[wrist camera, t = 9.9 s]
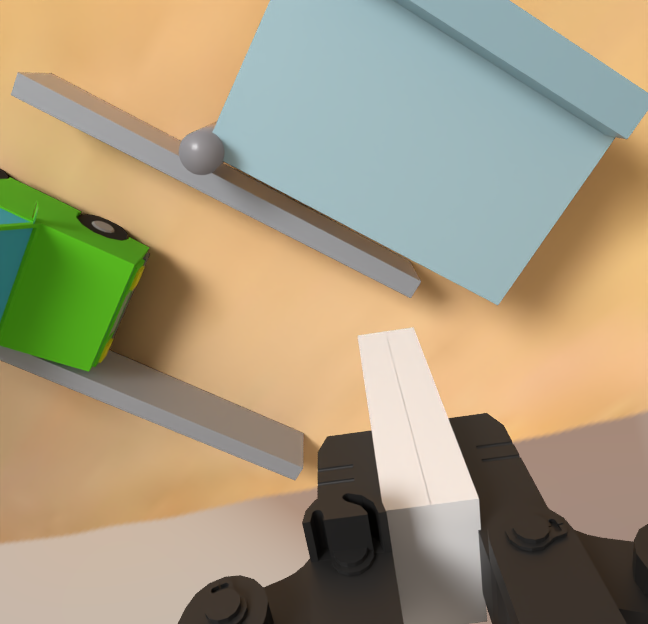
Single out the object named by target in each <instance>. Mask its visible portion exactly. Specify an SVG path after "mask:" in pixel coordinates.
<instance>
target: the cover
mask: <svg viewBox="0 0 648 624" xmlns="http://www.w3.org/2000/svg"><path fill="white" fill-rule="evenodd" d="M647 111H648V93H647V92H646V91H644V90H643V89H641V88H640V87H638V86H637V85H635V84H634V83H632V82H631V81H629V80H628V79H626V78H625V77H623V76H622V75H620V74H619V73H617V72H616V71H614V70H613V69H611V68H610V67H608V66H607V65H605V64H604V63H602V62H601V61H599V60H598V59H596V58H595V57H593V56H592V55H590V54H589V53H587V52H586V51H584V50H583V49H581V48H580V47H578V46H577V45H575V44H574V43H572V42H571V41H569V40H568V39H566V38H565V37H563V36H562V35H560V34H559V33H557V32H556V31H554V30H553V29H551V28H550V27H548V26H547V25H545V24H544V23H542V22H541V21H539V20H538V19H536V18H535V17H533V16H532V15H530V14H529V13H527V12H526V11H524V10H523V9H521V8H520V7H518V6H517V5H515V4H514V3H512V2H511V1H509V0H270V2H269V4H268V7H267V9H266V11H265V13H264V16H263V18H262V20H261V23H260V25H259V27H258V29H257V32H256V34H255V36H254V39H253V41H252V43H251V45H250V48H249V50H248V52H247V54H246V57H245V59H244V61H243V64H242V66H241V68H240V70H239V73H238V75H237V77H236V80H235V82H234V84H233V86H232V89H231V91H230V93H229V96H228V98H227V100H226V102H225V105H224V107H223V109H222V111H221V114H220V116H219V118H218V121H217V122H215V123H212V124H210V125H208V126H206V127H203V128H201V129H199V130H197V131H194V132H192V133H190V134H188V135H187V136H185V137H184V138H183V140H182V141H181V143H180V146H179V157H180V160H181V163H182V164H183V166H184V167H185V168H186V169H187V170H188V171H190V172H191V173H193V174H196V175H207V174H210V173H212V172H213V171H215V170H216V169H217V168H218V167H219V166H220V165H221V164H222V163H223V162H226V163H228V164H230V165H232V166H233V167H235V168H237V169H239V170H241V171H243V172H245V173H247V174H249V175H251V176H253V177H254V178H256V179H258V180H260V181H262V182H264V183H266V184H268V185H270V186H272V187H273V188H275V189H277V190H279V191H281V192H283V193H285V194H287V195H289V196H291V197H292V198H294V199H296V200H298V201H300V202H302V203H304V204H306V205H308V206H310V207H312V208H313V209H315V210H317V211H319V212H321V213H323V214H325V215H327V216H329V217H331V218H332V219H334V220H336V221H338V222H340V223H342V224H344V225H346V226H348V227H350V228H352V229H353V230H355V231H357V232H359V233H361V234H363V235H365V236H367V237H369V238H371V239H372V240H374V241H376V242H378V243H380V244H382V245H384V246H386V247H388V248H390V249H392V250H393V251H395V252H397V253H399V254H401V255H403V256H405V257H407V258H409V259H411V260H412V261H414V262H416V263H418V264H420V265H422V266H424V267H426V268H428V269H430V270H432V271H433V272H435V273H437V274H439V275H441V276H443V277H445V278H447V279H449V280H451V281H452V282H454V283H456V284H458V285H460V286H462V287H464V288H466V289H468V290H470V291H472V292H473V293H475V294H477V295H479V296H481V297H483V298H485V299H487V300H489V301H491V302H492V303H494V304H496V305H499V303H500V302H501V300H502V299H503V297H504V296H505V295H506V293H507V292H508V290H509V289H510V287H511V286H512V285H513V283H514V282H515V280H516V279H517V277H518V276H519V275H520V273H521V272H522V270H523V269H524V267H525V266H526V265H527V263H528V262H529V260H530V259H531V257H532V256H533V255H534V253H535V252H536V250H537V249H538V247H539V246H540V245H541V243H542V242H543V240H544V239H545V237H546V236H547V235H548V233H549V232H550V230H551V229H552V227H553V226H554V225H555V223H556V222H557V220H558V219H559V217H560V216H561V215H562V213H563V212H564V210H565V209H566V207H567V206H568V205H569V203H570V202H571V200H572V199H573V197H574V196H575V195H576V193H577V192H578V190H579V189H580V187H581V186H582V185H583V183H584V182H585V180H586V179H587V177H588V176H589V175H590V173H591V172H592V170H593V169H594V167H595V166H596V165H597V163H598V162H599V160H600V159H601V157H602V156H603V155H604V153H605V152H606V150H607V149H608V147H609V146H610V145H611V143H612V142H613V140H614V139H615V137H617V138H623V139H628V138H629V136H630V135H631V133H632V132H633V130H634V129H635V128H636V126H637V125H638V123H639V122H640V121H641V119H642V118H643V116H644V115H645V114H646V112H647Z"/></svg>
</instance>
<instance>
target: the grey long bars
mask: <svg viewBox="0 0 648 624" xmlns="http://www.w3.org/2000/svg"><path fill="white" fill-rule="evenodd" d="M11 95H12V96H14V97H16V98H18V99H20V100H22V101H24V102H26V103H28V104H29V105H31V106H33V107H35V108H37V109H39V110H41V111H43V112H45V113H47V114H49V115H51V116H53V117H55V118H57V119H59V120H61V121H63V122H65V123H67V124H69V125H71V126H73V127H75V128H77V129H79V130H81V131H83V132H85V133H87V134H89V135H90V136H92V137H94V138H96V139H98V140H100V141H102V142H104V143H106V144H108V145H110V146H112V147H114V148H116V149H118V150H120V151H122V152H124V153H126V154H128V155H130V156H132V157H134V158H136V159H138V160H140V161H142V162H144V163H146V164H148V165H150V166H151V167H153V168H155V169H157V170H159V171H161V172H163V173H165V174H167V175H169V176H171V177H173V178H175V179H177V180H179V181H181V182H183V183H185V184H187V185H189V186H191V187H193V188H195V189H197V190H199V191H201V192H203V193H205V194H207V195H209V196H211V197H213V198H214V199H216V200H218V201H220V202H222V203H224V204H226V205H228V206H230V207H232V208H234V209H236V210H238V211H240V212H242V213H244V214H246V215H248V216H250V217H252V218H254V219H256V220H258V221H260V222H262V223H264V224H266V225H268V226H270V227H272V228H274V229H275V230H277V231H279V232H281V233H283V234H285V235H287V236H289V237H291V238H293V239H295V240H297V241H299V242H301V243H303V244H305V245H307V246H309V247H311V248H313V249H315V250H317V251H319V252H321V253H323V254H325V255H327V256H329V257H331V258H333V259H335V260H336V261H338V262H340V263H342V264H344V265H346V266H348V267H350V268H352V269H354V270H356V271H358V272H360V273H362V274H364V275H366V276H368V277H370V278H372V279H374V280H376V281H378V282H380V283H382V284H384V285H386V286H388V287H390V288H392V289H394V290H396V291H397V292H399V293H401V294H403V295H405V296H407V297H409V298H411V297H412V295H413V294H414V292H415V291H416V289H417V287H418V286H419V284H420V283H421V280H420V278H419V277H418V275H417V273H416V271H415V270H414V268H413V266H412V264H411V263H410V261H408V260H407V259H405V258H403V257H401V256H399V255H397V254H395V253H393V252H391V251H389V250H388V249H386V248H384V247H382V246H380V245H378V244H376V243H374V242H372V241H370V240H368V239H367V238H365V237H363V236H361V235H359V234H357V233H355V232H353V231H351V230H349V229H347V228H346V227H344V226H342V225H340V224H338V223H336V222H334V221H332V220H330V219H328V218H326V217H325V216H323V215H321V214H319V213H317V212H315V211H313V210H311V209H309V208H307V207H305V206H304V205H302V204H300V203H298V202H296V201H294V200H292V199H290V198H288V197H286V196H284V195H283V194H281V193H279V192H277V191H275V190H273V189H271V188H269V187H267V186H265V185H264V184H262V183H260V182H258V181H256V180H254V179H252V178H250V177H248V176H246V175H244V174H243V173H241V172H239V171H237V170H235V169H233V168H231V167H229V166H227V165H225V164H223V163H222V164H221V165H220V166H219V167H218V168H217V169H216V170H215V171H213V172H212V173H210V174H207V175H196V174H193V173H191V172H190V171H188V170H187V169H186V168H185V167H184V166H183V164H182V163H181V160H180V157H179V146H180V143H181V141H180V140H178V139H176V138H174V137H172V136H170V135H168V134H166V133H164V132H162V131H160V130H159V129H157V128H155V127H153V126H151V125H149V124H147V123H145V122H143V121H141V120H140V119H138V118H136V117H134V116H132V115H130V114H128V113H126V112H124V111H122V110H120V109H119V108H117V107H115V106H113V105H111V104H109V103H107V102H105V101H103V100H101V99H99V98H98V97H96V96H94V95H92V94H90V93H88V92H86V91H84V90H82V89H80V88H78V87H77V86H75V85H73V84H71V83H69V82H67V81H65V80H63V79H61V78H59V77H57V76H56V75H54V74H52V73H20V72H18V73H17V77H16V80H15V83H14V87H13V90H12V93H11ZM0 360H1V361H3V362H6V363H8V364H11V365H13V366H16V367H18V368H20V369H23V370H25V371H28V372H30V373H33V374H35V375H38V376H40V377H43V378H45V379H47V380H50V381H52V382H55V383H57V384H60V385H62V386H65V387H67V388H70V389H72V390H74V391H77V392H79V393H82V394H84V395H87V396H89V397H92V398H94V399H97V400H99V401H101V402H104V403H106V404H109V405H111V406H114V407H116V408H119V409H121V410H123V411H126V412H128V413H131V414H133V415H136V416H138V417H141V418H143V419H146V420H148V421H150V422H153V423H155V424H158V425H160V426H163V427H165V428H168V429H170V430H173V431H175V432H177V433H180V434H182V435H185V436H187V437H190V438H192V439H195V440H197V441H200V442H202V443H204V444H207V445H209V446H212V447H214V448H217V449H219V450H222V451H224V452H227V453H229V454H231V455H234V456H236V457H239V458H241V459H244V460H246V461H249V462H251V463H254V464H256V465H258V466H261V467H263V468H266V469H268V470H271V471H273V472H276V473H278V474H280V475H283V476H285V477H288V478H290V479H293V480H296V478H297V477H298V475H299V474H300V472H301V471H302V469H303V438H304V433H302V432H299V431H297V430H295V429H292V428H290V427H288V426H285V425H283V424H281V423H278V422H276V421H274V420H271V419H269V418H267V417H264V416H262V415H260V414H257V413H255V412H253V411H250V410H248V409H246V408H243V407H241V406H239V405H236V404H234V403H232V402H229V401H227V400H225V399H222V398H220V397H218V396H215V395H213V394H211V393H208V392H206V391H204V390H201V389H199V388H197V387H194V386H192V385H190V384H187V383H185V382H183V381H180V380H178V379H176V378H173V377H171V376H169V375H166V374H164V373H162V372H159V371H157V370H155V369H152V368H150V367H148V366H145V365H143V364H141V363H138V362H136V361H134V360H131V359H129V358H127V357H124V356H122V355H120V354H117V353H115V352H113V351H110V350H109V351H108V353H107V355H106V357H105V358H104V359H103V361H102V362H101V363H98V364H97V366H96V367H92V368H91V369H90V371H89V372H88V371H85V370H81V369H78V368H74V367H71V366H67V365H64V364H61V363H57V362H54V361H50V360H47V359H44V358H40V357H37V356H33V355H30V354H26V353H23V352H20V351H16V350H13V349H9V348H6V347H2V346H0Z"/></svg>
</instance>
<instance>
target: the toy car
mask: <svg viewBox="0 0 648 624" xmlns="http://www.w3.org/2000/svg"><path fill="white" fill-rule="evenodd" d="M80 214H81V211H79V210H77V209H75V208H73V207H71V206H69V205H67V204H65V203H63V202H61V201H59V200H56V199H54V198H52V197H50V196H48V195H46V194H44V193H42V192H40V191H38V190H36V189H34V188H31V187H29V186H27V185H25V184H23V183H21V182H19V181H17V180H15V179H13V178H11V177H10V178H9V179H8V176H7V174H6V173H5V172H4V171H3V170H2V169H0V346H2V347H6V348H9V349H13V350H16V351H20V352H23V353H26V354H30V355H33V356H37V357H40V358H44V359H47V360H50V361H54V362H57V363H61V364H64V365H67V366H71V367H74V368H78V369H81V370H85V371H88V372H89V371H90V369H91V368H92V367H96V366H97V364H98V363H101V362H102V361H103V359H104V358H105V357H106V355H107V353H108V351H109V348H110V346H111V344H112V342H113V338H114V336H115V333H116V331H117V329H118V326H119V324H120V322H121V319H122V317H123V315H124V313H125V310H126V308H127V306H128V303H129V301H130V299H131V297H132V294H133V292H134V290H135V287H136V286H137V284H138V282H139V280H140V277H141V275H142V273H143V270H144V268H145V264H146V262H147V260H148V257H149V255H150V253H147V252H148V250H149V247H147V246H146V245H144V244H142V243H140V242H138V241H136V240H134V239H132V238H130V237H129V239H127V233H126V232H125V230H124V229H123V228H122V227H120V226H118V225H117V224H115V223H113V222H111V221H109V220H107V219H104V218H101V217H99V216H94V215H88V214H85V215H80Z"/></svg>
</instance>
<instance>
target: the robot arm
mask: <svg viewBox="0 0 648 624" xmlns="http://www.w3.org/2000/svg"><path fill="white" fill-rule="evenodd" d="M358 342H359V348H360V355H361V362H362V369H363V376H364V382H365V389H366V396H367V403H368V410H369V416H370V423H371V430H372V431H364V432H357V433H350V434H343V435H335V436H328V437H327V438H326V440H325V441H324V443H323V445H322V446H321V448H320V450H319V451H318V499H316V500H315V501H314V502H313V503H312V504H311V506H310V507H309V508H308V509H307V510H306V512H305V515H304V519H303V522H302V524H303V528H304V533H305V537H306V541H307V546H308V550H309V555H310V559H309V560H308V562H307V563H306V564H305V565H304V566H303V567H302V568H300V569H299V570H298V571H297V572H296V573H294V574H292V575H291V576H289V577H287V578H285V579H283V580H281V581H278V582H276V583H273V584H271V585H269V586H266V587H264V588H263V587H262V586H261V585H260V584H259V583H258V582H257V581H255V580H254V579H251V578H248V577H244V576H230V577H224V578H221V579H219V580H216V581H214V582H212V583H209V584H208V585H207V586H205V587H204V588H203V589H202V590H200V591H199V592H198V593H197V594H195V596H194V597H193V599H192V600H191V602H190V603H189V604H188V606H187V607H186V608H185V610H184V612H183V614H182V616H181V618H180V620H179V622H178V624H469V623H478V622H486V621H487V613H486V606H487V609H488V612H489V615H490V618H491V622H492V624H648V524H647V525H645V526H644V527H642V528H641V529H639V531H638V533H637V535H636V537H635V539H634V542H631V541H623V540H615V539H607V538H600V537H596V536H591V535H587V534H584V533H581V532H579V531H576V530H574V529H573V528H572V527H571V526H570V525H569V524H568V522H567V521H566V520H565V519H564V518H563V517H561V516H560V515H558V514H556V513H555V512H553V511H551V510H550V509H549V508H548V507H547V505H546V504H545V502H544V500H543V498H542V496H541V494H540V492H539V490H538V489H537V487H536V485H535V483H534V481H533V479H532V477H531V476H530V474H529V472H528V470H527V468H526V466H525V464H524V463H523V461H522V459H521V458H520V457H519V453H518V451H517V450H516V448H515V446H514V445H513V444H512V440H511V438H510V436H509V435H508V433H507V431H506V429H505V427H504V425H502V424H501V423H500V422H498V421H497V420H496V419H494V418H493V417H491V416H490V415H489V414H487V413H483V414H476V415H469V416H462V417H454V418H448V417H447V414H446V411H445V409H444V406H443V403H442V401H441V398H440V396H439V393H438V390H437V388H436V385H435V383H434V380H433V377H432V375H431V372H430V369H429V367H428V364H427V362H426V359H425V356H424V354H423V351H422V349H421V346H420V343H419V341H418V338H417V335H416V333H415V330H414V328H406V329H399V330H392V331H386V332H379V333H372V334H365V335H358Z"/></svg>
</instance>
